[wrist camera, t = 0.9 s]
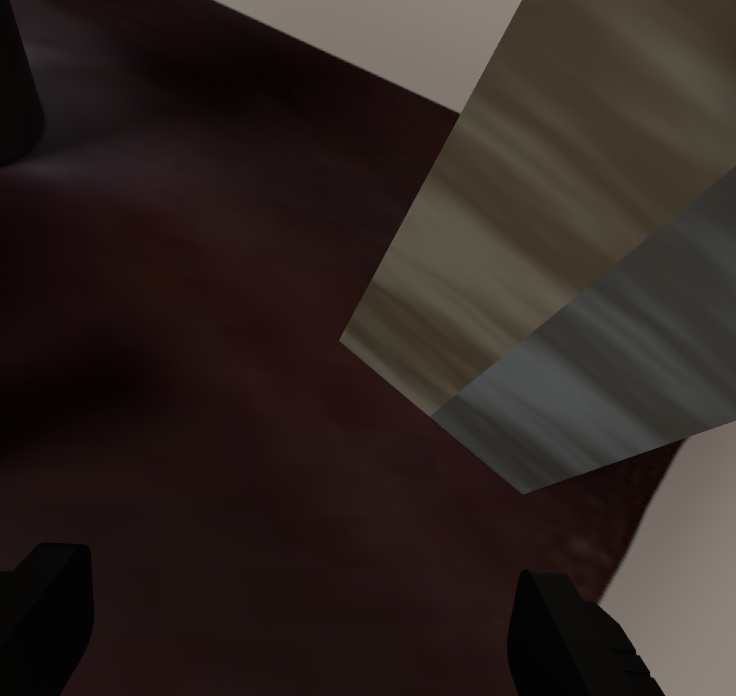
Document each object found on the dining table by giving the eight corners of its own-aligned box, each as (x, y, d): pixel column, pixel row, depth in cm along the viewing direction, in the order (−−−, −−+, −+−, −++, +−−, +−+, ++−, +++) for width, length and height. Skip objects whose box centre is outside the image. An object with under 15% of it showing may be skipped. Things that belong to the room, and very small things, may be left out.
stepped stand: (522, 494, 35) (1724, 76, 8) (338, 340, 36) (801, -522, 9) (588, 374, 41) (1386, -101, 14) (429, 245, 42) (871, -438, 15)
